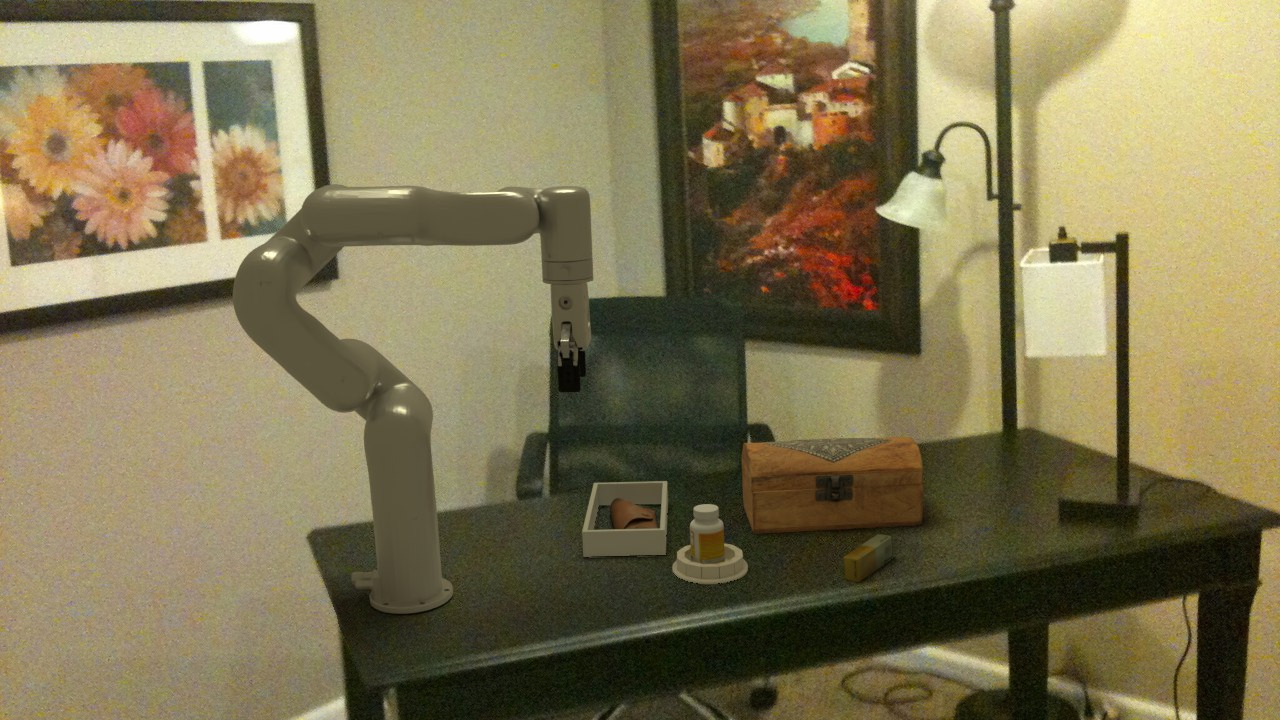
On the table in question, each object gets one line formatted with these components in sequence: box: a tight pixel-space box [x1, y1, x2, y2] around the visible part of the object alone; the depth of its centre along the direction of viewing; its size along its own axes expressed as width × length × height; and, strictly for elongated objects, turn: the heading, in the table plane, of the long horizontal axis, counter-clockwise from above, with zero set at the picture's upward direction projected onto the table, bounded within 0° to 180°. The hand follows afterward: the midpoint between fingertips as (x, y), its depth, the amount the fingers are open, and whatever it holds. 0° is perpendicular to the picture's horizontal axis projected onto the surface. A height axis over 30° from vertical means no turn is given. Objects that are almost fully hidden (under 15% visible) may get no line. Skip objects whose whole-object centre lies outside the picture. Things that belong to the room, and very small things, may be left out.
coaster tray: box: [671, 542, 749, 585], centre depth 191 cm, size 12×12×3 cm
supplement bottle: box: [689, 503, 725, 564], centre depth 190 cm, size 5×5×10 cm
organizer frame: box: [581, 480, 669, 558], centre depth 210 cm, size 14×26×4 cm, turn 178°
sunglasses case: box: [609, 498, 659, 529], centre depth 210 cm, size 18×7×7 cm
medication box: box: [843, 533, 894, 583], centre depth 189 cm, size 12×3×4 cm, turn 142°
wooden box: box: [741, 436, 925, 535], centre depth 212 cm, size 30×16×14 cm, turn 91°
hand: (572, 384), depth 180 cm, fingers open, 9 cm apart
